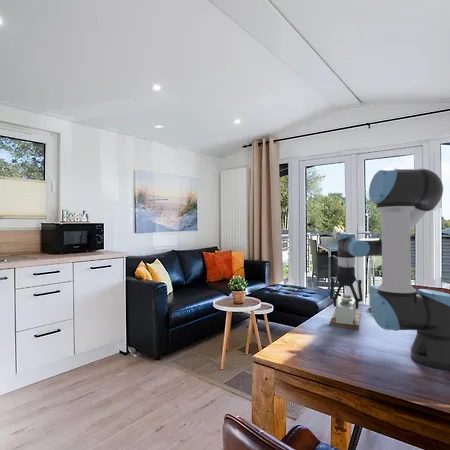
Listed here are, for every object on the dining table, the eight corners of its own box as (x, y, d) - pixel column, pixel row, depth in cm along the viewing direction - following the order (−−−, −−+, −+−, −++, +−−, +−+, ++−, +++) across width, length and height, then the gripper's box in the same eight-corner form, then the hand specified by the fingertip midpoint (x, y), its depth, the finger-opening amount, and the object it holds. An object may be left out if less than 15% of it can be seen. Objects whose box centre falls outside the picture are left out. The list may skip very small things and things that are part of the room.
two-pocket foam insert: (352, 324, 141) (352, 308, 140) (335, 322, 143) (335, 307, 143) (354, 312, 160) (354, 298, 160) (339, 310, 163) (340, 296, 162)
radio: (401, 315, 159) (401, 275, 159) (382, 315, 159) (383, 275, 159) (385, 307, 175) (386, 270, 175) (368, 307, 175) (369, 270, 175)
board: (358, 329, 139) (359, 304, 139) (329, 325, 144) (329, 301, 144) (360, 314, 162) (360, 292, 162) (335, 311, 167) (335, 290, 167)
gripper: (369, 266, 150) (369, 314, 151) (325, 263, 159) (324, 309, 159) (369, 268, 144) (369, 319, 144) (323, 265, 152) (322, 314, 152)
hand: (345, 314), depth 152 cm, fingers closed on two-pocket foam insert, 7 cm apart
